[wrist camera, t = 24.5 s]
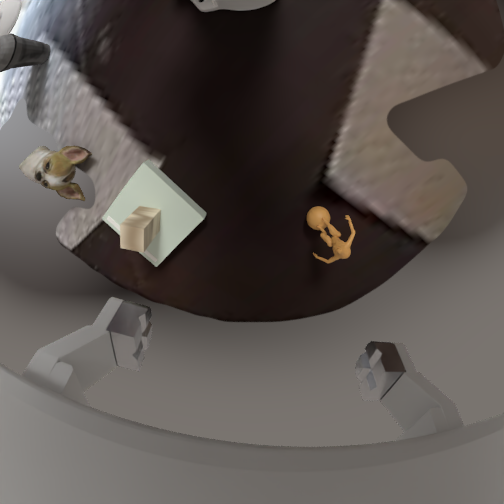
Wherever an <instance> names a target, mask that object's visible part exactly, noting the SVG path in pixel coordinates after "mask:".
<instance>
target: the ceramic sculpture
mask: <svg viewBox="0 0 504 504" xmlns="http://www.w3.org/2000/svg"><path fill="white" fill-rule="evenodd" d="M91 155H92V153H91V152H89V151H88V150H87V149H85V148H82V147H79V146H66V147H64V148H62V149H61V150H60V151H59V152H56V151H50V150H49V149H48V148H47V147H45V146H40V147H38V148H37V149H36V150H35V151H34V152H32V154H30V155H29V156H28V157H27V158H26V159H25V160H24V161H23V162H22V163H21V164H20V166H19V168H20V169H21V170H22V171H23V173H24V174H25V175H26V177H28V178H29V179H30V180H32V181H35V182H36V183H40V184H41V185H42V186H44V187H45V188H49V189H52V190H56V191H57V193H58V194H59V195H60V196H62V197H64V198H66V199H80V200H83V201H85V197H84V195H83V193H82V190H81V189H80V187H79V185H78V184H76V183H71V180H72V179H73V178H74V175H75V165H76V164H80V163H83V162H84V161H85V160H86V159H87V158H88V157H89V156H91Z"/></svg>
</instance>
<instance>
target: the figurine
mask: <svg viewBox="0 0 504 504" xmlns="http://www.w3.org/2000/svg"><path fill="white" fill-rule="evenodd" d="M345 219H347V220H349V226H350V228H351V232H352V234H351V235H350V237H349V239H348V241H347V242H344V241H342V240H340V239H339V237H340V236H341V234H340V233H339V232H338V231H337V230H336V229H335V228H334V227H333V226H332V225H331V224H330V223H329V222H330V214H329V212H328V211H327V210H326V209H325V208H323V207H320V206H316V207H313V208H311V209H310V210H309V212H308V213H307V223H308V225H309V226H310V227H311V228H313V229H315V230H321V231H322V232H323V233H321V234H320V236H321V237H322V239H323V240H324V241H325V242H326V243H327V244H328V246H329V247H332V245H333V251H334V254H335V255H334V256H333V257H332V258H330V259H329V260H327V259H324V258H322V257H318V256H317V255H316V253H315V254H313V255H314V256H315V257H316V258H317V259H319V260H322V261H324V262H326V263H331V262H333V261H335V260H338V259H340V258H343V259H345V258H348V257H349V256H350V253H351V250H350V246H351V243H352V240H353V238H354V236H355V230H354V228H353V225H352V222H351V219H350V217H349V216H347V215H346V218H345ZM327 226H328V229H329V232H330V234H331V235H333V236H334V237H332V239H331V238H330V237H329V236H328V235H327V233H326V232H325V230H324V228H326V227H327Z"/></svg>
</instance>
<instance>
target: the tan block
mask: <svg viewBox="0 0 504 504" xmlns="http://www.w3.org/2000/svg"><path fill="white" fill-rule="evenodd" d="M160 215H161V209H156V208H150V207H143V206H139V207H138V208H137V209H136V210H135V211H134V212H133V213H131V214H130V215H129V216H128V217H127V218H126V219H125V220H124V221H123V222H122V223H121V224H120V243H121V248H123V249H128V250H133V251H138V252H143V253H144V252H145V250H146V249H147V247H148V246H149V245H150V243H151V242H152V240H153V239H154V238H155V236H156V235H157V233H158V232H159V231H160Z"/></svg>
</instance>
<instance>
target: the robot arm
mask: <svg viewBox="0 0 504 504" xmlns="http://www.w3.org/2000/svg"><path fill="white" fill-rule="evenodd" d="M191 1H192V2H193V3H194V5H195V6H196V7H197V8H198V9H199V10H200V11H202V12H210V11H215V10H219V9H228V10H237V11H244V10H253V9H258V8H261V7H264V6H267V5H269V4H271V3H272V2H274V1H276V0H204V1H203V2H200V0H191ZM151 316H152V313H151V308H150V307H148V306H144V305H141V304H137V303H133V302H129V301H126V300H121V299H118V298H114V297H112V298H110V299H109V300H108V302H107V303H106V305H105V306H104V308H103V310H102V311H101V312H100V314H99V316H98V317H97V319H96V320H95V322H94V324H93V325H92V326H90V325H88V326H86V327H83V328H81V329H79V330H77V331H75V332H73V333H71V334H69V335H67V336H65V337H63V338H61V339H59V340H57V341H55V342H53V343H51V344H49V345H47V346H45V347H43V348H41V349H39V350H38V351H37V352H36V354H35V355H34V357H33V358H32V360H31V361H30V363H29V365H28V366H27V368H26V369H25V371H24V372H23V374H22V375H20V374H19V373H17V372H15V371H13V370H11V369H10V368H8V367H6V366H5V365H3V364H1V363H0V504H504V413H502V414H499V415H496V416H493V417H491V418H488V419H485V420H482V421H479V422H476V423H473V424H469V425H466V426H464V425H463V422H462V419H461V417H460V415H459V412H458V409H457V407H456V405H455V403H454V402H453V401H452V400H451V399H449V398H448V397H447V396H446V395H445V394H444V393H443V392H442V391H440V390H439V389H438V388H437V387H436V386H435V385H434V384H432V383H431V382H430V381H429V380H428V379H427V378H426V377H424V376H423V375H422V374H421V373H420V372H417V371H416V369H415V367H414V365H413V362H412V360H411V358H410V355H409V353H408V351H407V349H406V347H405V345H404V344H403V343H393V342H392V343H391V342H374V341H371V342H370V343H368V344H367V346H366V348H365V350H366V352H365V353H364V354H362V355H361V356H360V357H359V358H358V360H357V363H356V367H355V373H356V377H357V379H358V380H359V381H360V382H361V384H360V386H359V389H360V393H361V397H362V400H380V402H381V403H382V404H383V406H384V407H385V408H386V410H387V411H388V412H389V413H390V415H391V416H392V417H393V418H394V419H395V421H396V422H397V423H398V425H399V426H400V427H401V428H402V430H403V431H404V433H403V434H402V435H400V436H399V437H398V438H397V439H396V441H390V442H382V443H373V444H364V445H350V446H330V447H291V446H290V447H289V446H269V445H257V444H246V443H237V442H228V441H221V440H215V439H209V438H202V437H197V436H192V435H187V434H181V433H177V432H172V431H168V430H164V429H159V428H156V427H152V426H148V425H144V424H141V423H137V422H134V421H130V420H127V419H124V418H121V417H118V416H115V415H112V414H109V413H106V412H103V411H100V410H98V409H94V408H92V407H91V406H90V404H89V402H88V400H87V398H86V396H85V394H84V392H85V391H86V390H87V389H89V388H90V387H91V386H93V385H94V384H95V383H96V382H98V381H99V380H101V379H102V378H103V377H105V376H106V375H107V374H109V373H110V372H111V371H113V370H114V369H115V368H117V366H119V367H123V368H127V369H130V370H134V371H139V370H140V367H141V365H142V362H143V360H144V351H145V350H147V349H148V347H149V344H150V341H151V336H152V324H151V322H150V321H149V320H150V318H151Z"/></svg>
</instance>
